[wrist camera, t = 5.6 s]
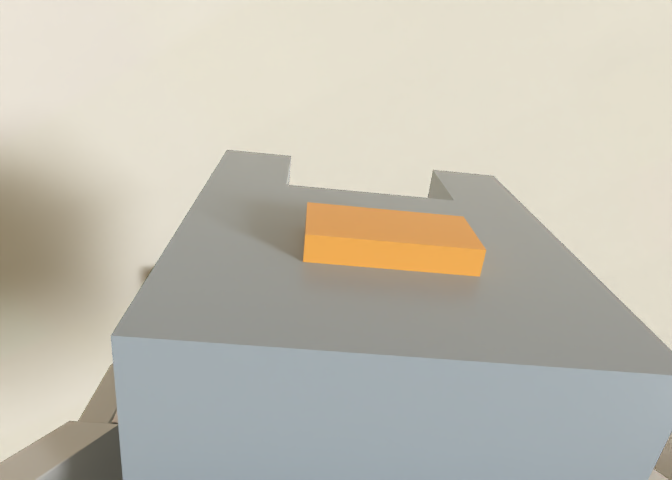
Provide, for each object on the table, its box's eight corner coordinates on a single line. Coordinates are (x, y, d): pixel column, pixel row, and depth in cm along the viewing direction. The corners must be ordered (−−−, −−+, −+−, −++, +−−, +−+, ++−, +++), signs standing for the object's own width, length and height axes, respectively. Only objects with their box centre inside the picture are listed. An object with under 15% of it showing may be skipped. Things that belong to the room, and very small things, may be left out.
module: (498, 158, 12) (713, 346, 5) (429, 439, 15) (511, 759, 9) (227, 131, 11) (108, 299, 5) (220, 427, 15) (145, 753, 8)
